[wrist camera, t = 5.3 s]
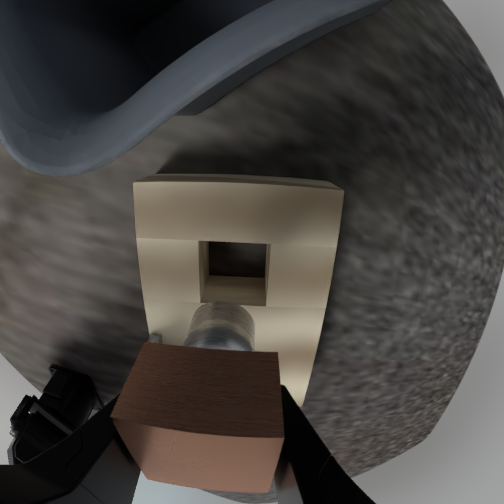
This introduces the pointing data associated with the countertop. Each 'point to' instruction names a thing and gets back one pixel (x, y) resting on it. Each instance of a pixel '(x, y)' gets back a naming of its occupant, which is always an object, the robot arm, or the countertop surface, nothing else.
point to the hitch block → (245, 231)
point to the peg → (205, 406)
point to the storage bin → (135, 67)
